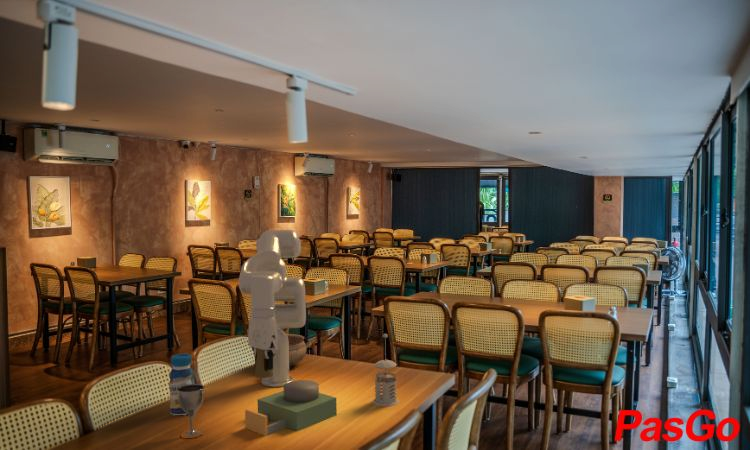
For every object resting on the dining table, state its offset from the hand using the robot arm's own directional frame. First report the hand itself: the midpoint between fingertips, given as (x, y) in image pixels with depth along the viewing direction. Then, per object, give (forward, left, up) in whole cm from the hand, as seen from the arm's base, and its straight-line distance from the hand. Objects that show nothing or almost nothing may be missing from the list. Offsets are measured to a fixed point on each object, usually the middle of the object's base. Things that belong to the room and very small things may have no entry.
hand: (264, 368), depth 194 cm
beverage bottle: (-33, -10, -20) cm, 40 cm away
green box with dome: (+1, +9, -19) cm, 21 cm away
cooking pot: (-49, +51, -20) cm, 74 cm away
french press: (+16, +42, -20) cm, 49 cm away
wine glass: (-13, -19, -20) cm, 30 cm away
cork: (0, 0, -2) cm, 2 cm away
